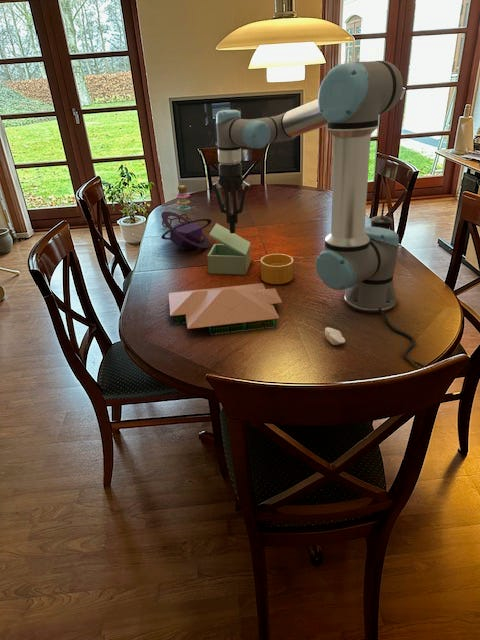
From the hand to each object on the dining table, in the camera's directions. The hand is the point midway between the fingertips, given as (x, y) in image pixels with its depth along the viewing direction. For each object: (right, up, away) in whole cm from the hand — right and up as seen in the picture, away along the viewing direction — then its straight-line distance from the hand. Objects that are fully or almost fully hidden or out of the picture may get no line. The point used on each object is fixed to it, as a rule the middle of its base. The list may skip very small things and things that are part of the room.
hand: (232, 231), depth 156 cm
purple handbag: (-19, -2, +26) cm, 32 cm away
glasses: (-24, +10, +46) cm, 53 cm away
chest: (-1, -12, +7) cm, 14 cm away
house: (-2, -29, -22) cm, 37 cm away
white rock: (+28, -37, -38) cm, 60 cm away
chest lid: (-1, -3, +2) cm, 3 cm away
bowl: (+15, -17, -3) cm, 23 cm away
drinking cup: (+55, -6, +13) cm, 57 cm away
